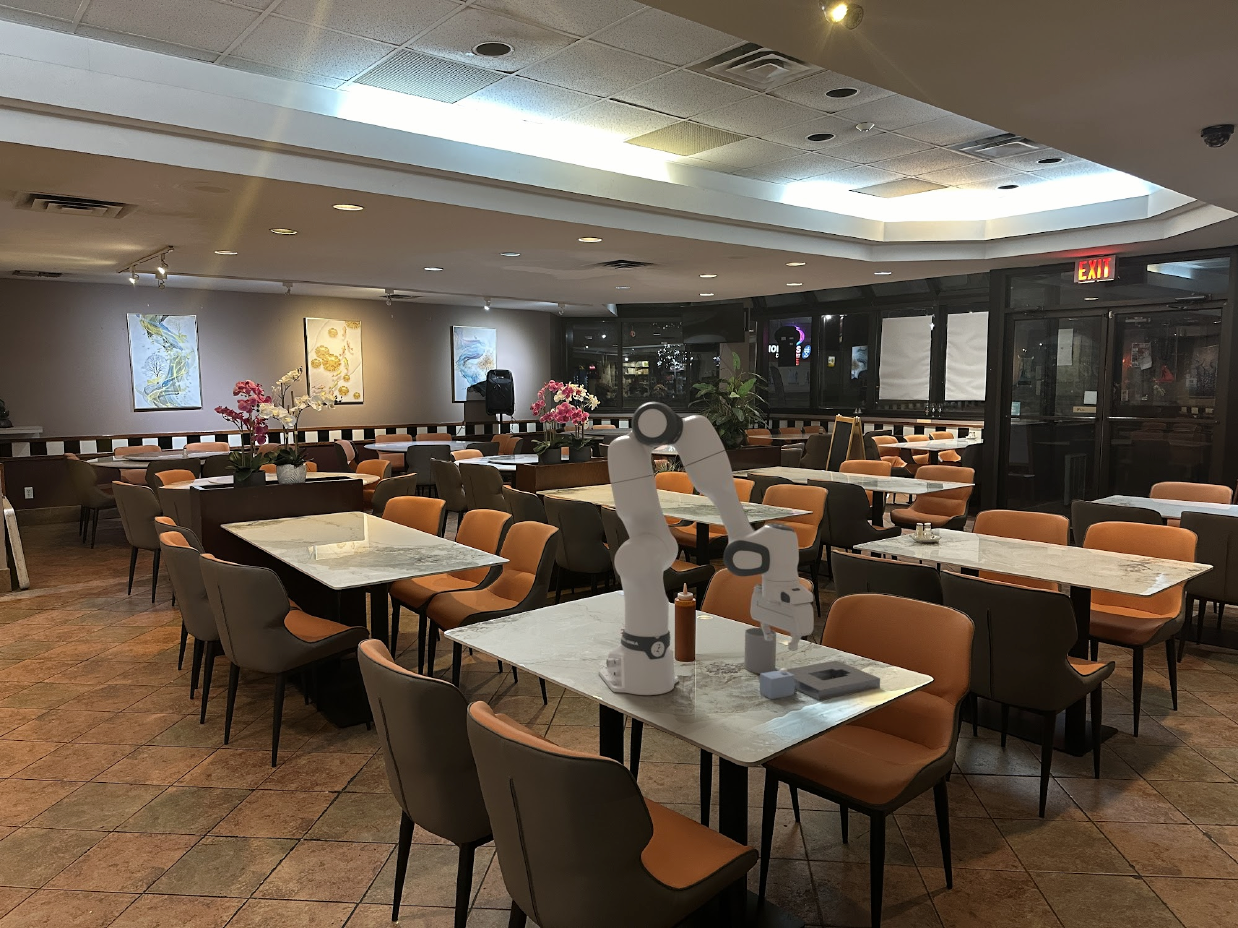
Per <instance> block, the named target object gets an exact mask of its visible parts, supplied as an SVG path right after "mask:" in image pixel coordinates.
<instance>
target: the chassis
mask: <svg viewBox="0 0 1238 928" xmlns="http://www.w3.org/2000/svg"><path fill="white" fill-rule="evenodd" d="M786 669H787V672H789V673H791V674H793V675H794V684H795V691H796V690H797V692H798V691H799V692H801V693H802V694H805V695H807V696H809V697H811V698H813V699H815V700H817V701H822V700H829V699H833V698H837V697H841V696H847V695H852V694H857V693H862V692H866V691H871V690H876V689H880V688H881V677H878V676H875V675H873V674H870V673H868V672H866V671H863V670H860V669H858V668H856V667H855V666H854V667H853V666H851V665H848V664H847V663H843V662H841V661H838V660H831V661H825V662H820V663H815V664H809V665H803V666H796V667H791V668H786Z"/></svg>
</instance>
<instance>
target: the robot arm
mask: <svg viewBox="0 0 1238 928" xmlns="http://www.w3.org/2000/svg"><path fill="white" fill-rule="evenodd" d="M666 445H668V446H671V447H673V448H674V449H675V451H676V452H677V454H678V456H679V458H680V461H681V463H682V466H683V468H684V471H685V473H686V475H687V477H688V479H689V480H690V483H691V484H692V486H693V487H694V488H695V490H696V491H697V492H698V493H700V494H701V495H703V496H704V497H706V498H707V499H709V500H710V502H712V504H713V505H714V506H715V508H716V510H717V513H718V515H719V517H720V519H721V522H722V525H723V526H724V528H725V531H726V533H727V538H728V543H727V546H726V547H725V549H724V551H723V557H722V558H723V563H724V566H725V567H726V569H727V570H728V572H729V573H731V574H732V575H734V576H736V577H742V578H743V577H752V576H758V575H761V583H757V584H756V585H755V586H754V587H753V593H752V595H751V601H750V616H751V619H752V620H754V621H757V622H759V623H760V628H762V631H763V633H764V640H766V641H772V640H773V634H772V633H771V631H770V629H771V628H770V627H773V628H777V629H779V630H782V631H784V632H787V633H790V638H791V639H790V642H788V643H787V646H788V648H787V649H788V650H790V651H792V652H797V651H798V649H799V642H800V640H801V639H802V637H805V636H810V635H812V633H813V631H814V626H815V624H814V623H815V621H814V620H815V619H814V608H813V605H812V602H813V601H814V594H813V593H812V592H811V591H810V590H809V589H807V588H806V587H805V586H804V585H803V584H802V583H800V581H799V580H800V579H799V578H800V577H799V576H800V575H799V573H798V565H799V561H800V557H799V556H800V555H799V554H800V553H799V552H800V551H799V539H798V535H797V533H796V530H794V529H793V528H792V527H791V526H789V525H787V524H782V523H776V522H769V523H766V524H765V525H763V526H762V527H760V528H758V529H757V530H756V529H755V528H754V527H753V526H752V524H751V523H750V521H749V519H748V516H747V514H746V511H745V509H744V507H743V505H742V503H741V500H740V498H739V496H738V492H737V489H736V484H735V479H734V474H733V470H732V467H731V466H732V465H731V463H730V459H729V457H728V453H727V452H726V449H725V446H724V444H723V442H722V440H721V439H720V436H719V435H718V432H717V431H716V429H715V427H714V426H713V425H712V423H711V422H710V420H709V419H708V418H707V417H706V416H704V415H698V414H694V415H690V416H686V417H682V416H680V415H679V414H678V413H676V412H675V411H674V410H672V408H671V407H669V406H668V405H667V404H665V403H662V402H658V401H649V402H645V403H643V404H641V405H640V406H638V408H636V410H635V411H634V413H633V415H632V418H631V430H630V432H629V433H628V434H625V435H621V436H619V437H616V438H614V439H613V440H612V441H611V442H610V444H609V445H608V448H607V466H608V474H609V481H610V486H611V492H612V497H613V502H614V505H615V512H616V514H617V517H618V518H619V519H620V520H621V521H622V524H623V525H624V527H625V529H626V531H627V532H626V533H627V534H628V536H629V538H628V539H627V540H625V541H624V542H623V543H622V544H621V545H620V547H619V548H618V550H617V551H616V553H615V555H614V562H613V563H614V568H615V570H616V573H617V574H618V576H620V581H621V587H622V593H623V598H624V599H623V600H624V628H623V629H620V631H621V632H620V634H621V639H620V643H619V644H618V645H617V646H615V647H614V648H613V649H612V650H611V651H610V652H609V653H608V656H607V659H606V663H605V664H606V666H605V667H603V668H600V669H598V675H599V676H600V678H601V679H602V680H603V682H605V684H606V685H607V686H608V687H609V689H610V690H611V691H612V692H614V693H627V694H632V695H639V696H652V695H662V694H666V693H668V692H670V691H672V690H673V689H674V687H675V684H677V683H678V682H679V676H677V675H675V674H676V673H675V660H674V659H675V658H674V651H673V650H672V649H671V648H670V646H671V632H670V631H671V630H669V622H670V621H669V618H670V617H669V613H670V608H669V607H670V601H669V598H668V597H667V594H666V590H665V586H664V578H663V577H664V571H666V570H668V569H669V568H670V567H672V565H673V564H674V562H675V560H676V558H677V557H678V552H679V544H678V543H677V540H676V538H675V537H674V535H673V534H672V532H671V530H670V527H669V525H668V521H667V520H666V517H665V515H664V512H663V510H662V505H661V503H660V499H659V494H658V488H657V484H656V479H655V475H654V469H653V464H652V453H653V451H655V450H656V449H658V448H660V447H662V446H666Z"/></svg>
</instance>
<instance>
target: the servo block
mask: <svg viewBox="0 0 1238 928" xmlns="http://www.w3.org/2000/svg"><path fill="white" fill-rule="evenodd" d="M787 669H788V668H784V667H782V668H781V667H780V669H779V670H775V671H772V672H767V673H759V694H760V695H761V696H764V697H766V698H767V699H770V700H775V699H779V698H785V697H789V696H795V693H796V689H795V684H794V675H793V674H791V673H789V672H787Z"/></svg>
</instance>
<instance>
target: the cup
mask: <svg viewBox="0 0 1238 928" xmlns="http://www.w3.org/2000/svg"><path fill="white" fill-rule="evenodd" d="M770 631H771V633H772V634H773V640H772V641H766V640H764V633H763V631H762V628H761V627H750V628H747V629H745V631H744V658H743V659H744V660H743V661H744V666H743V667H744V669H745V670H746V671H748V672H751V673H756V674H761V673H767V672H772V671H776V659H777V657H776V656H777V655H776V654H777V652H776V651H777V631H776V630H774V629H771V628H770Z"/></svg>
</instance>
